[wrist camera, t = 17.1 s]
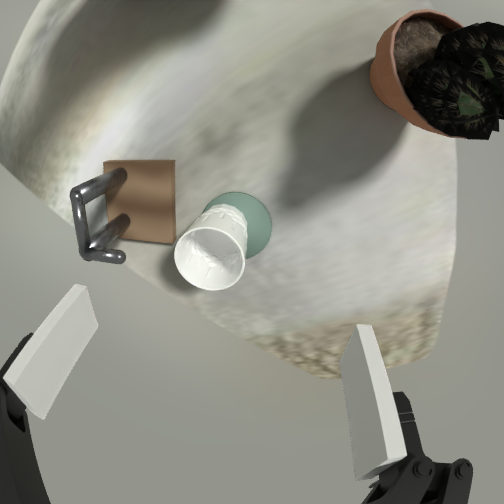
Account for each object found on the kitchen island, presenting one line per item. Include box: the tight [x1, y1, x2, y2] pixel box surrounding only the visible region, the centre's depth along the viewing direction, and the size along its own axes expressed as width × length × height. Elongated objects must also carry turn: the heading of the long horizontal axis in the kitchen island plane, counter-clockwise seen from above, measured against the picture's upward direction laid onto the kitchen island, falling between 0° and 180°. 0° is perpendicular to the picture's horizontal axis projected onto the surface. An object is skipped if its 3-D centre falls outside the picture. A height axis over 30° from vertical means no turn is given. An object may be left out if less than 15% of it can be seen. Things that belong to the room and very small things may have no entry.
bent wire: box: [70, 167, 131, 264], centre depth 32 cm, size 9×7×11 cm
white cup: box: [174, 204, 248, 291], centre depth 35 cm, size 8×8×10 cm
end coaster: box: [203, 192, 272, 259], centre depth 39 cm, size 10×10×1 cm
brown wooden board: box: [103, 160, 176, 244], centre depth 38 cm, size 12×11×2 cm
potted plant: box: [369, 9, 504, 140], centre depth 17 cm, size 14×14×25 cm
